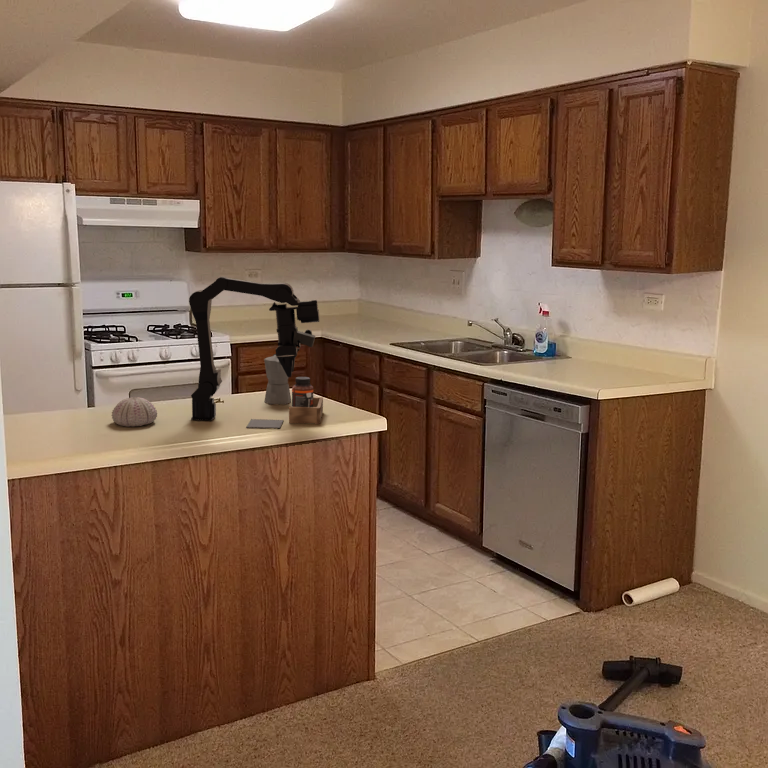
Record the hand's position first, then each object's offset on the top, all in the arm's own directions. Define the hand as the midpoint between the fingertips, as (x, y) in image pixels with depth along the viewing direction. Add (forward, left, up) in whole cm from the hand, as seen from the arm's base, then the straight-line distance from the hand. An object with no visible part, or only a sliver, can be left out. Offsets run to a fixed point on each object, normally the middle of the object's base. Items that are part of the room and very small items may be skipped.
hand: (290, 374), depth 258 cm
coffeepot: (-7, +27, -15) cm, 32 cm away
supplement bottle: (+4, +4, -15) cm, 16 cm away
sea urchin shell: (-46, -9, -15) cm, 49 cm away
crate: (+5, +4, -15) cm, 16 cm away
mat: (-7, -7, -15) cm, 17 cm away
